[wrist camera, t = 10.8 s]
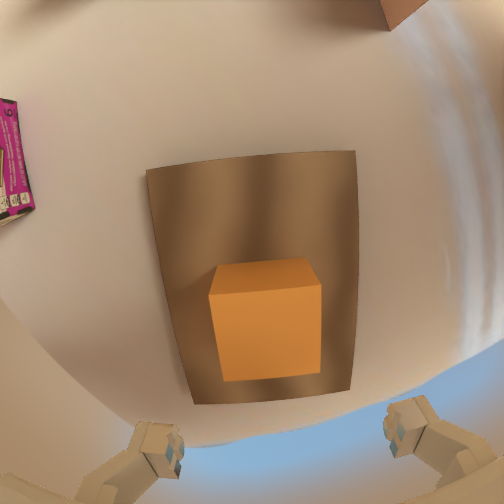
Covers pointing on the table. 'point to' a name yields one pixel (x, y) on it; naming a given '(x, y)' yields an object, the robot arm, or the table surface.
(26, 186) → the candy bar box
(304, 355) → the orange wooden cube
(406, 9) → the greeting card
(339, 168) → the base plate
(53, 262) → the table surface
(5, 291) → the table surface
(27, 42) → the table surface
